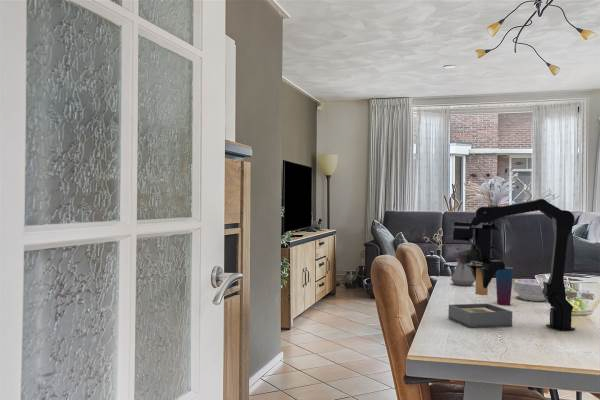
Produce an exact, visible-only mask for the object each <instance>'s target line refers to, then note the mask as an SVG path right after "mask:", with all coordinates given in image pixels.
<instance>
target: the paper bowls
mask: <svg viewBox="0 0 600 400" xmlns="http://www.w3.org/2000/svg"><path fill="white" fill-rule="evenodd" d="M537 280H538V279H534V278H520V279H519V278H518V279H517V278H516V279H515V280H514V281H513V283H514V286H513V287H514V288H513V289H514V293H516V294H518V296H519V298H520V299H521V300H524V301H528V300H529V301H528V302H543V301H547V300H546V299H545V298H544V294H543V293H542V291H543V289H542V288H541V286H540V285H539V284H538V282H537Z"/></svg>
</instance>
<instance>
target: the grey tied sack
mask: <svg viewBox="0 0 600 400" xmlns="http://www.w3.org/2000/svg"><path fill="white" fill-rule="evenodd" d="M455 260H456V263H457V264H456V267H455V269H454V272H453V274H452V276H451V278H450V280H451V282H452V283H453V284H454V285H455V286H458V287H470V286H472V285H473V284H474V283H475V278H474V275H473V272H472V270H471V269H470V268H469V267H468V266H467V265H469V263H468V264H464V263H461V262H460V259H459V258H457V259H456V258H455Z"/></svg>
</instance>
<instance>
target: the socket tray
mask: <svg viewBox="0 0 600 400" xmlns="http://www.w3.org/2000/svg"><path fill="white" fill-rule="evenodd" d="M447 317H448V320H451V321H453V322H455V323H457V324H459V323H460V325H462V326H464V327H466V326H467V328H469V329H477V328H479V329H480V328H481V329H482V328H505V327H513V311H512V310H510V309H509V310H508V309H506V308H504V307H500V306H497V305H495V304H491V303H464V304H463V303H462V304H460V303H459V304H458V303H457V304H448V316H447Z"/></svg>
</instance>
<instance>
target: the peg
mask: <svg viewBox="0 0 600 400" xmlns="http://www.w3.org/2000/svg"><path fill="white" fill-rule="evenodd" d="M488 290H489V287H487V288H484V287H483V276H482V272H481V271H480V269H479V268H476V282H475V291H474V292H475V293H474V294H475V295H479V296H487V295H488V293H489V292H488Z"/></svg>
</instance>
